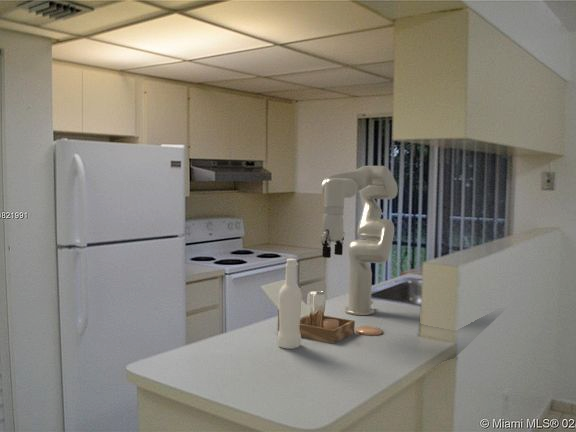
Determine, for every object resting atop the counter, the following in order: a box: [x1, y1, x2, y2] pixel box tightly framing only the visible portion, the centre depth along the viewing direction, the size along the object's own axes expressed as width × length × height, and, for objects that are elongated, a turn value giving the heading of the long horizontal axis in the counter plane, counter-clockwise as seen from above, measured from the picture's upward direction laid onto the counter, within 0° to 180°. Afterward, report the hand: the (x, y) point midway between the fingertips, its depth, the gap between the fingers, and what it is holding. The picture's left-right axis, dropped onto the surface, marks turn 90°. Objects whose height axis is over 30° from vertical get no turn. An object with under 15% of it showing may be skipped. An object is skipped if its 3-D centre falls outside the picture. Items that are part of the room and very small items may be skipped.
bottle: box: [276, 258, 303, 350], centre depth 186 cm, size 8×8×30 cm
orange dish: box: [355, 325, 383, 337], centre depth 207 cm, size 10×10×1 cm
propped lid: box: [259, 279, 308, 332], centre depth 211 cm, size 17×14×16 cm
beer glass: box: [306, 290, 327, 328], centre depth 204 cm, size 7×7×15 cm
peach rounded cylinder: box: [323, 319, 339, 330], centre depth 199 cm, size 6×6×6 cm
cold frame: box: [299, 315, 356, 344], centre depth 203 cm, size 17×18×4 cm
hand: (332, 256), depth 209 cm, fingers open, 9 cm apart
